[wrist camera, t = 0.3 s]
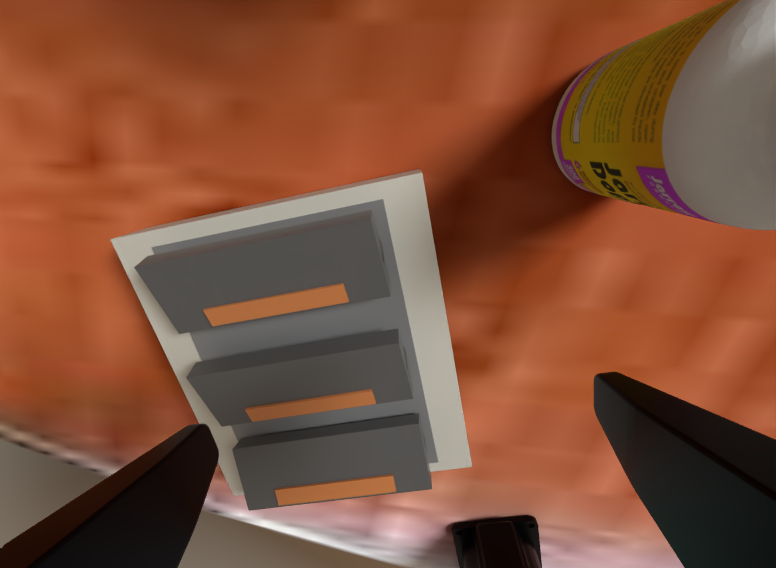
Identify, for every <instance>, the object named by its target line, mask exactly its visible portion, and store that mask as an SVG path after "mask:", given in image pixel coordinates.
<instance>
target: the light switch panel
mask: <svg viewBox="0 0 776 568" xmlns="http://www.w3.org/2000/svg"><path fill="white" fill-rule="evenodd" d="M368 210H372V212H373V216H374V220H375V224H376V228H377V232H378V236H379V238H380V240H381V243H382V247H383V253H384V260H385V264H386V268H387V272H388V276H389V281H390V291H391V296H390V297H385V298H379V299H373V300H368V301H362V302H357V303H351V304H345V305H340V306H334V307H328V308H323V309H317V310H312V311H306V312H300V313H295V314H289V315H284V316H278V317H272V318H267V319H261V320H256V321H250V322H244V323H239V324H233V325H227V326H222V327H216V328H211V329H205V330H199V331H194V332H188V333H183V334H179V333H178V331H177V330H176V329H175V327H174V326H173V324H172V323H171V321H170V320H169V318H168V317H167V315H166V314H165V312H164V311H163V309H162V308H161V306H160V305H159V303H158V302H157V300H156V299H155V298H154V296H153V295H152V293H151V292H150V290H149V289H148V287H147V286H146V284H145V283H144V281H143V280H142V278H141V277H140V275H139V274H138V272H137V271H136V270H135V268H134V267H135V266H136V265H137V264H139V263H140V262H141V261H142V260H143V259H145V258H146V257H147V256H150V255H155V254H159V253H164V252H169V251H174V250H179V249H184V248H188V247H193V246H198V245H203V244H208V243H213V242H218V241H222V240H227V239H232V238H237V237H242V236H247V235H251V234H256V233H261V232H266V231H271V230H276V229H281V228H285V227H290V226H295V225H300V224H305V223H310V222H315V221H319V220H324V219H329V218H334V217H339V216H344V215H348V214H353V213H358V212H363V211H368ZM110 240H111V242H112V244H113V246H114V248H115V250H116V252H117V254H118V256H119V259H120V261H121V263H122V265H123V267H124V269H125V271H126V273H127V275H128V277H129V279H130V281H131V283H132V286H133V288H134V290H135V292H136V294H137V296H138V298H139V300H140V302H141V304H142V306H143V308H144V310H145V312H146V315H147V317H148V319H149V321H150V323H151V325H152V327H153V329H154V331H155V333H156V335H157V337H158V339H159V341H160V344H161V346H162V348H163V350H164V352H165V354H166V356H167V358H168V360H169V362H170V364H171V366H172V368H173V371H174V373H175V375H176V377H177V379H178V381H179V383H180V385H181V387H182V389H183V391H184V393H185V395H186V397H187V400H188V402H189V404H190V406H191V408H192V410H193V412H194V414H195V416H196V418H197V420H198V422H199V424H202V423H203V424H206V425H207V426H209V428H210V430H211V433H212V435H213V437H214V440H215V442H216V444H217V447H218V450H219V459H218V464H219V466H220V468H221V470H222V472H223V474H224V476H225V478H226V480H227V483H228V485H229V487H230V489H231V491H232V493H233V495H234V496H237V495H244V491H243V488H242V484H241V480H240V477H239V473H238V469H237V466H236V462H235V458H234V455H233V451H232V449H233V448H234V446H235V445H236V444H237V443H238V442H239V440H240V439H241V438H248V437H255V436H262V435H270V434H277V433H284V432H291V431H298V430H305V429H312V428H319V427H326V426H333V425H341V424H348V423H355V422H362V421H369V420H376V419H383V418H390V417H397V416H404V415H412V414H419V416H420V421H421V427H422V432H423V435H424V438H425V443H426V450H427V457H428V462H429V467H430V472H433V471H441V470H449V469H457V468H465V467H472V463H471V458H470V452H469V446H468V440H467V434H466V428H465V422H464V416H463V410H462V404H461V399H460V393H459V387H458V381H457V375H456V369H455V363H454V357H453V351H452V345H451V339H450V334H449V328H448V322H447V316H446V310H445V304H444V298H443V292H442V286H441V280H440V275H439V269H438V263H437V257H436V251H435V245H434V239H433V233H432V227H431V221H430V216H429V210H428V204H427V198H426V192H425V186H424V180H423V174H422V172H421V170H420V169H417V170H412V171H408V172H403V173H398V174H394V175H389V176H385V177H380V178H375V179H371V180H366V181H361V182H357V183H352V184H347V185H343V186H338V187H334V188H329V189H324V190H320V191H315V192H310V193H306V194H301V195H296V196H292V197H287V198H283V199H278V200H273V201H269V202H264V203H259V204H255V205H250V206H245V207H241V208H236V209H232V210H227V211H222V212H218V213H213V214H208V215H204V216H199V217H194V218H190V219H185V220H181V221H176V222H171V223H167V224H162V225H157V226H153V227H148V228H145V229H142V230H139V231H136V232H132V233H129V234H126V235H123V236H119V237H116V238H113V239H110ZM397 328H398V329H399V333H400V337H401V341H402V345H403V347H404V348H405V352H406V357H407V364H408V368H409V372H410V376H411V380H412V387H413V399H409V400H402V401H395V402H388V403H381V404H374V405H367V406H361V407H354V408H347V409H340V410H333V411H326V412H319V413H312V414H306V415H299V416H292V417H285V418H278V419H271V420H264V421H257V422H251V423H244V424H237V425H230V426H223V427H221V425H220V424H219V422H218V421H217V420H216V418H215V417H214V415H213V414H212V413H211V411H210V410H209V409H208V407H207V406H206V404H205V403H204V402H203V400H202V399H201V398H200V396H199V395H198V393H197V392H196V391H195V389H194V388H193V387H192V385H191V384H190V382H189V381H188V380H187V378H186V377H187V376H188V374H189V373H190V371H191V369H192V368H193V366H194V365H195V363H196V362H201V361H207V360H213V359H219V358H225V357H230V356H236V355H242V354H248V353H254V352H260V351H266V350H272V349H278V348H284V347H290V346H296V345H302V344H308V343H314V342H320V341H326V340H332V339H338V338H344V337H350V336H355V335H361V334H367V333H373V332H379V331H385V330H391V329H397Z"/></svg>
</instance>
